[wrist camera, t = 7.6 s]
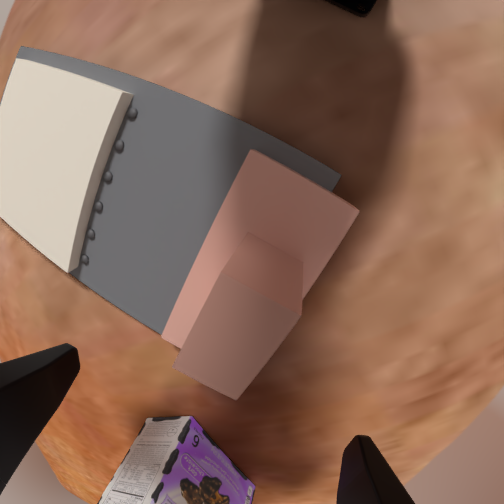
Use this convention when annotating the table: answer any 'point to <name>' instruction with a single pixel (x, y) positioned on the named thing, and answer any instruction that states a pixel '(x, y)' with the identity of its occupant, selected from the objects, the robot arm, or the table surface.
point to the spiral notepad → (56, 155)
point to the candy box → (176, 468)
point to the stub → (254, 273)
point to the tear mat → (163, 189)
